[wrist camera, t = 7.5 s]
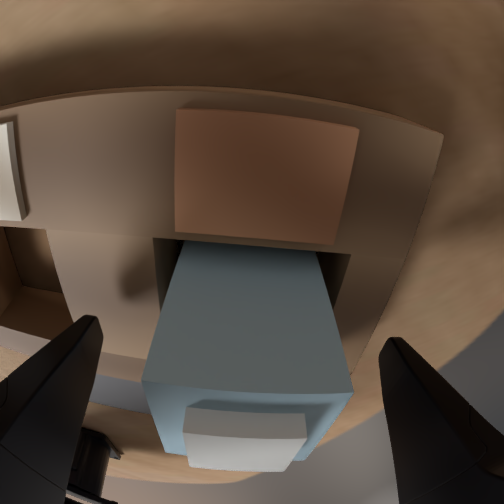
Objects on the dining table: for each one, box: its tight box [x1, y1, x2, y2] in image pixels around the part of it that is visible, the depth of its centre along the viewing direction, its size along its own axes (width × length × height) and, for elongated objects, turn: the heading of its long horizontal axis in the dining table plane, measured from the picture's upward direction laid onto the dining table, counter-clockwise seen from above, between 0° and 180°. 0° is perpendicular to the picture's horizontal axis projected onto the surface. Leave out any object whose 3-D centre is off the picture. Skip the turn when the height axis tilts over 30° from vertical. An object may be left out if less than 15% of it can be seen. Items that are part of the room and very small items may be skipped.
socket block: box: [0, 86, 444, 383], centre depth 10 cm, size 11×18×3 cm, turn 84°
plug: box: [141, 240, 354, 472], centre depth 9 cm, size 4×4×8 cm
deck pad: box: [89, 374, 151, 414], centre depth 16 cm, size 9×9×1 cm
